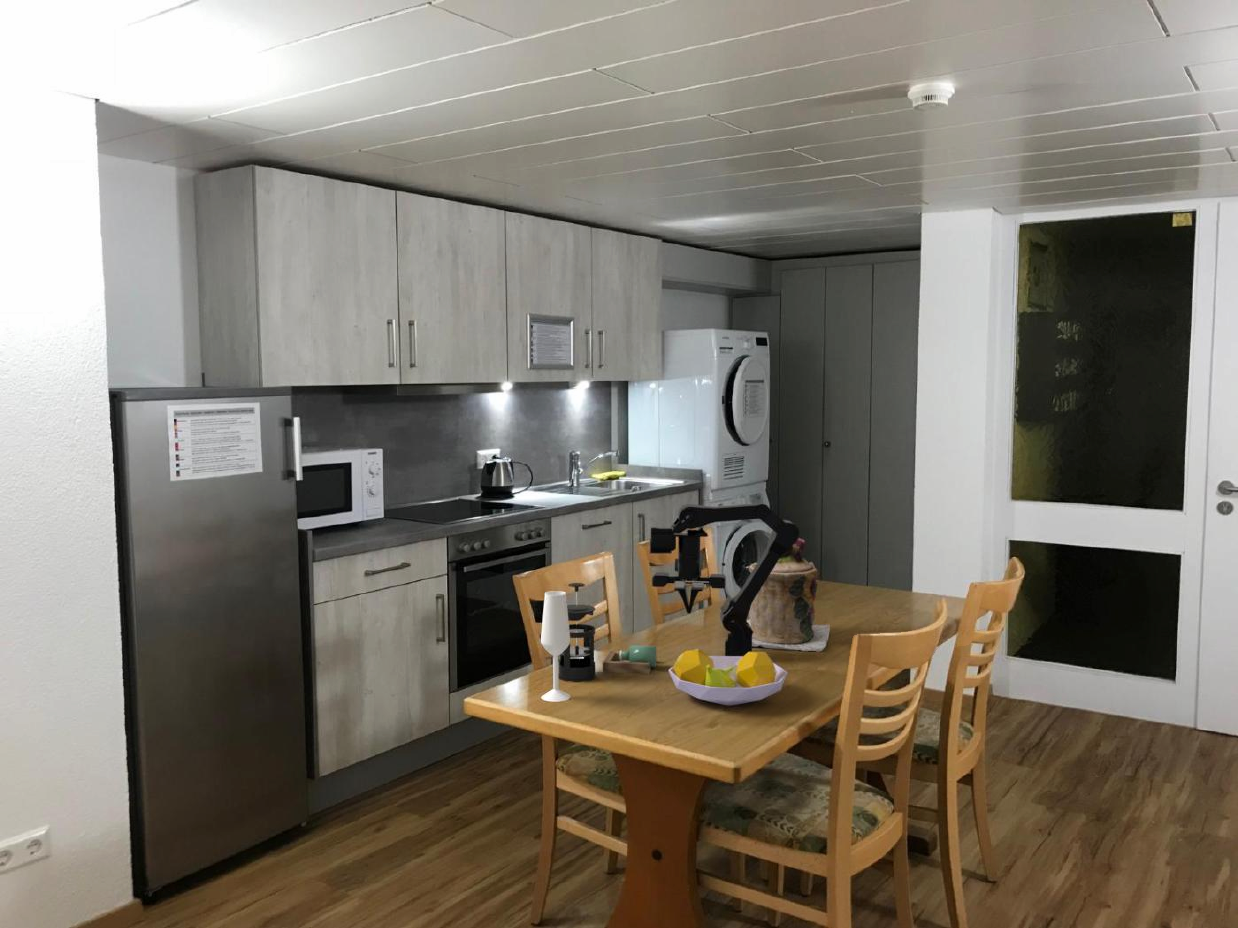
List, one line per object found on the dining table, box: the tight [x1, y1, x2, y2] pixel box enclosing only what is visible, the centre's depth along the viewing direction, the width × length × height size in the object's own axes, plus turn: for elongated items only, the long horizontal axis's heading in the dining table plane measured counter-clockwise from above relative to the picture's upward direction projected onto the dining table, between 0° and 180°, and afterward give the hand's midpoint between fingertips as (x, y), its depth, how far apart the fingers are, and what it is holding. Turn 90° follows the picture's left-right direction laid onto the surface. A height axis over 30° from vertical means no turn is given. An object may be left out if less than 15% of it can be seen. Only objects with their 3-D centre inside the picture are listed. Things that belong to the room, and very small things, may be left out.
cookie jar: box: [746, 537, 831, 653], centre depth 280 cm, size 25×25×32 cm
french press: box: [558, 582, 597, 683], centre depth 245 cm, size 12×9×23 cm
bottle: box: [619, 645, 658, 668], centre depth 252 cm, size 5×5×9 cm
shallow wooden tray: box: [602, 650, 653, 675], centre depth 253 cm, size 12×11×2 cm
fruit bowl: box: [668, 648, 789, 707], centre depth 228 cm, size 28×27×11 cm
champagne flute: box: [540, 590, 571, 703], centre depth 228 cm, size 7×7×24 cm
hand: (689, 613), depth 260 cm, fingers closed
